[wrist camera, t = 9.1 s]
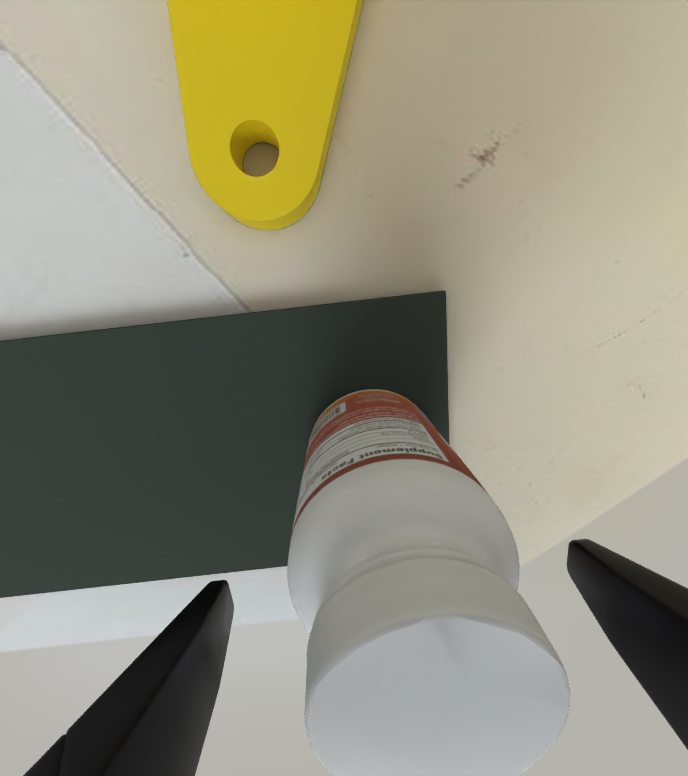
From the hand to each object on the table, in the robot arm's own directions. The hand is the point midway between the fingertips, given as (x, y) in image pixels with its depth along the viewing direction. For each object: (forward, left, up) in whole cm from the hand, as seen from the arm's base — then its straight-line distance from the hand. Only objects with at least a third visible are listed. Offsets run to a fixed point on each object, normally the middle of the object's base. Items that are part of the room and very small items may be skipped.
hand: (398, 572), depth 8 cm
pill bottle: (0, 0, -8) cm, 8 cm away
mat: (+5, +7, -9) cm, 12 cm away
